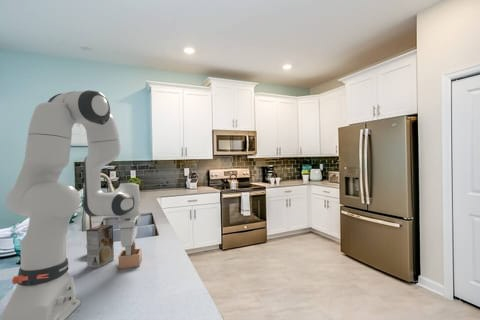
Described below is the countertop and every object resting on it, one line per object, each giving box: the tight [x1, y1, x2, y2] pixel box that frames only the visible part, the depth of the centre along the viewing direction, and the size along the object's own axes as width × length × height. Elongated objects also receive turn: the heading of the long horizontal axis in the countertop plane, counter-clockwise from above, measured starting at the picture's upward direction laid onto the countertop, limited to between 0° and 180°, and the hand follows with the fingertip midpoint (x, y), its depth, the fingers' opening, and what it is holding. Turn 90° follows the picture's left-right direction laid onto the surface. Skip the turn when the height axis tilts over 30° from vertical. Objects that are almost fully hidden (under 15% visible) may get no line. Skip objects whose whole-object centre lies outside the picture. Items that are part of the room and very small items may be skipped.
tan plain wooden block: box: [124, 242, 136, 256], centre depth 113 cm, size 4×4×8 cm
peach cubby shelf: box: [118, 248, 143, 269], centre depth 113 cm, size 8×8×5 cm
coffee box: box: [85, 224, 115, 268], centre depth 114 cm, size 9×6×16 cm
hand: (130, 250), depth 113 cm, fingers open, 8 cm apart
